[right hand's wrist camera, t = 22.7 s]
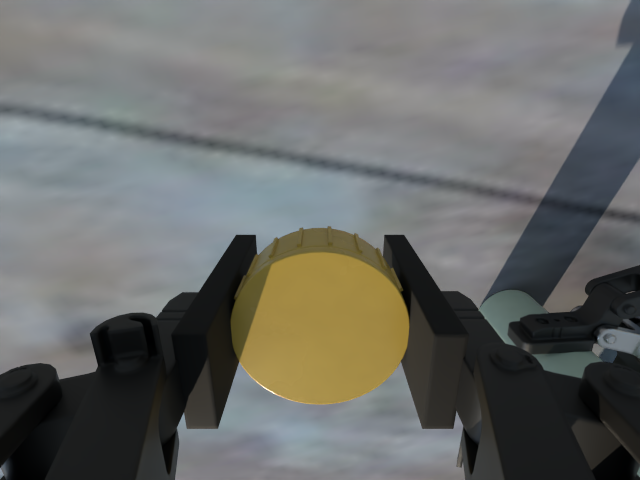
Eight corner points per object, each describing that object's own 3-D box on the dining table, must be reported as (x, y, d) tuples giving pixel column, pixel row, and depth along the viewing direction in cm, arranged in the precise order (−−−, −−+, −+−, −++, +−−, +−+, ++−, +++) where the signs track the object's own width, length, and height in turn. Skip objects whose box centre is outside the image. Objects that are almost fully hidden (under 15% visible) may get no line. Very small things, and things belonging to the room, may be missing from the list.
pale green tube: (539, 330, 28) (971, 770, 9) (481, 347, 28) (786, 794, 10) (532, 281, 26) (1028, 691, 8) (471, 299, 27) (806, 724, 8)
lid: (220, 244, 11) (200, 270, 9) (385, 208, 11) (398, 229, 9) (265, 374, 13) (256, 418, 11) (408, 348, 13) (424, 389, 11)
